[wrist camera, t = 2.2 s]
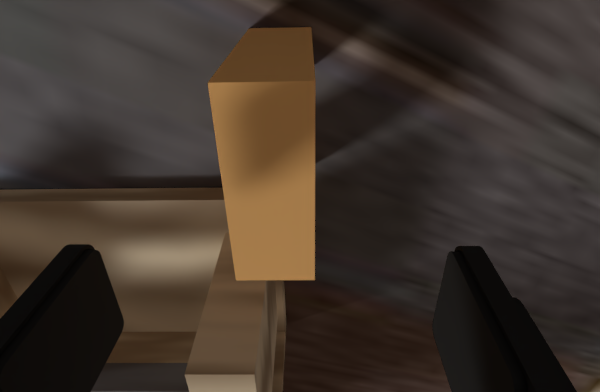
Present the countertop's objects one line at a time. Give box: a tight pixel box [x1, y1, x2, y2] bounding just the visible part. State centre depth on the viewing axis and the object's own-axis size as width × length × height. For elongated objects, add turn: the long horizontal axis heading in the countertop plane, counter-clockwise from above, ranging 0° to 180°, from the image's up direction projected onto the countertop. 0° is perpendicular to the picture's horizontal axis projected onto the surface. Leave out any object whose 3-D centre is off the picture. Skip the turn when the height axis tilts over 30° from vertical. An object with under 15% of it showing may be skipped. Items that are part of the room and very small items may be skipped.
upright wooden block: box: [208, 27, 315, 280], centre depth 18 cm, size 8×3×10 cm, turn 1°
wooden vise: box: [0, 188, 286, 392], centre depth 24 cm, size 13×23×12 cm, turn 91°
